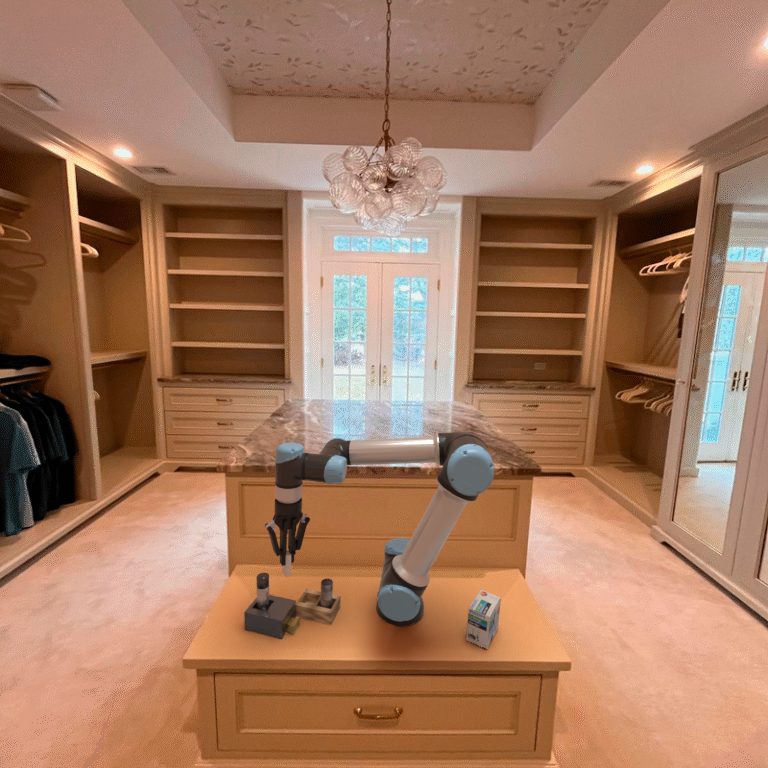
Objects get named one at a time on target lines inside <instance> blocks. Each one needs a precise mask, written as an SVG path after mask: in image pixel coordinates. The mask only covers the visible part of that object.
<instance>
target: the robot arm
mask: <svg viewBox="0 0 768 768" xmlns="http://www.w3.org/2000/svg"><path fill="white" fill-rule="evenodd" d="M275 449H276V450H275V451H276V452H275V460H274V463H275V464H274V465H275V466H274V468H275V469H274V470H275V473H274V474H275V480H274V515H273V518H272V521H270V522H269V523H268V522H267V523H265V524H264V528H265V529H266V530H267V532H268V535H269V539H270V542H271V547H272V550H273V553H274V554H275V555H276V556H277V557H279V563H280V564H281V566H282V573H283V575H284V577H286V578H287V577H291V575H292V564H294V562H295V555H297V552H296V551H299V550H301V549H302V545H303V541H304V537H305V533H306V530H307V526H308V524H309V523H310V521H311V518H310V517H309V515H307V514H304V513H303V511H302V510H303V482H304V481H306V482H307V481H308V482H314V483H315V482H316V483H322V484H323V483H324V484H325V483H326V484H329V485H331V484H335V485H336V484H337V485H338V484H343V483H344V481H345V480H346V476H347V470H348V468H347V467H348V466H368V465H396V464H397V465H398V464H426V463H427V464H429V463H432V464H433V463H435V464H437V466H439V467H440V466H441V468H440V471H439V472H438V475H437V476H436V482H437V486H438V487H437V489H436V490H435V493H434V494H433V496H432V497H431V499H430V502H429V503H428V506H427V507H426V509H425V511H424V513H423V515H422V517H420V521H419V522H418V524H417V526H416V528H415V529H414V531H413V533H412V535H411V537H410V538H403V537H400V538H393V539H390V540H388V541H386V543H385V544H384V550H383V551H384V558H383V566H382V571H381V576H380V582H379V588H378V592H377V600H376V612H377V615H378V616H379V618H380V619H381V620H383V621H384V622H385V623H388V624H390V625H393V626H398V627H408V626H411V625H414V624H417V622H419V621H420V620H422V618H423V616H424V610H425V607H424V606H425V605H424V603H425V602H424V599H423V594H424V592H425V591H426V589H427V588H428V585H429V584H430V581H431V577H430V573H429V572H430V570H431V568H432V567H433V565H434V563H435V561H436V560H437V558H438V556H439V555H440V552H441V550H442V548H443V547H444V545H445V543H446V542H447V541H448V538H449V536H450V534H451V533H452V531H453V529H454V528H455V526H456V524H457V522H458V520H459V518H461V517H460V516H461V515H462V513H463V511H464V510H465V508H466V506H467V504H469V503H474V502H476V501H477V499H478V497H479V495H480V494H483V493H484V492H486V491H487V490H488V489H489V488H490V486H491V485H492V483H493V481H494V478H495V465H494V461H493V458H492V456H491V454H490V452H489V450H488V448H487V445H486V443H485V442H484V441H483V439H481V438H480V437H479V436H477V435H476V434H473V433H471V432H465V431H464V432H462V431H461V432H458V431H456V432H454V431H453V432H452V431H451V432H438V433H437V432H436V434H435V435H433V436H423V437H422V436H421V437H399V438H382V439H381V438H380V439H378V438H377V439H360V440H359V439H357V440H356V439H355V440H346V439H345V438H342V437H333V438H331V439H330V440H329V441H327V442H326V443H325V444H324V446H323V448H322V449H321V450H320V452H319V453H311V452H305V448H304V446H303V445H302V444H301V443H298V442H284V443H281V444H279V445H278V446H277V447H276V448H275ZM276 526H277V528H279V529H278V530H279V542H278V538H277V535H276V532H275V530H276ZM297 526H298V528H297Z"/></svg>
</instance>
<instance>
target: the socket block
mask: <svg viewBox="0 0 768 768" xmlns="http://www.w3.org/2000/svg"><path fill="white" fill-rule="evenodd" d="M296 603H297V600H294V599H290V598H287V597H281V596H277V595H274V594H269V609H268V610H267V611H262V610H258V609H257V597H256V598H255V599H254V600H253V601H252V602H251V604H249V605H248V607H247V608H246V610H245V611H244V613H243V614H244V631H247V632H251V633H256V634H259V635H264V636H267V637H271V638H275V639H277V640H283V638H284V637H285V635H286V631H285V625H286V623H287V622H288V620H289V619H290V617H293V618H295V617H296Z"/></svg>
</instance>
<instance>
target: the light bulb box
mask: <svg viewBox="0 0 768 768" xmlns="http://www.w3.org/2000/svg"><path fill="white" fill-rule="evenodd" d="M501 602H502V597H500V596H497V595H495V594H493V593H491V592H488V591H485V590H484V589H480V590H479V591H478V593H477V595H476V596H475V597H474V599H473V600H472V602H471V604H470V605H469V607H468V612H467V615H468V616H467V626H466V636H465V637H466V638H465V639H466V641H467V642H469V643H471V642H472V643H471V644H473V643H475V644H477V645H479V646H478V647H480V646H482V647H484V648H488V647H490V646H491V644H490V643H492V642H491V641H493V640H494V638H495V636H496V634H497V632H498V630H499V622H500V621H499V620H500V613H501V611H500V610H501ZM497 629H498V630H497ZM496 631H497V632H496ZM495 633H496V634H495ZM494 635H495V636H494ZM493 637H494V638H493ZM492 639H493V640H492ZM475 644H474V645H475ZM477 645H476V646H477ZM489 645H490V646H489ZM482 647H481V648H482ZM484 648H483V649H484ZM488 649H489V648H488Z"/></svg>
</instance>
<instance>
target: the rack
mask: <svg viewBox="0 0 768 768" xmlns="http://www.w3.org/2000/svg"><path fill="white" fill-rule="evenodd" d="M333 586H334V581H333V579H331V578H323V579H322V580H321V581H320V591H318V590H315V589H314V590H313V589H309V588H306V589H304V591H303V593H302V594H301V596H300V597H299V599H298V600H296V616H297V617H300V619H305V620H309V621H312V622H313V621H314V622H317V623H322V624H326V625H328V626H329V625H330V626H332V624H333V622H334V621H335V619H336V616H337V615H338V613H339V611H340V610H341V607H342V605H341V603H342V601H341V599H342V596H341V595H336V594H333V591H334V588H333Z"/></svg>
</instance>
